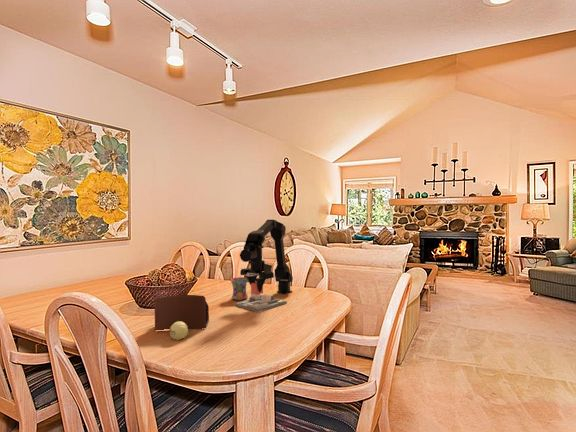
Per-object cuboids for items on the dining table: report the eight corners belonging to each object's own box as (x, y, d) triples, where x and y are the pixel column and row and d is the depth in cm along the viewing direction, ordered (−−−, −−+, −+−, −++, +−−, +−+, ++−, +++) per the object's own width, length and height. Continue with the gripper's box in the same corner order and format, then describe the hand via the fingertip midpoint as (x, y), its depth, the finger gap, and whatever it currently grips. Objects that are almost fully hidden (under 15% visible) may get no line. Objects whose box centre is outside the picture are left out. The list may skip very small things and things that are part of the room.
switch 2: (265, 301, 168) (265, 294, 168) (270, 302, 165) (270, 295, 165) (261, 302, 166) (261, 295, 166) (266, 303, 163) (265, 296, 163)
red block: (257, 291, 164) (257, 281, 164) (263, 293, 161) (262, 282, 161) (251, 293, 161) (250, 283, 161) (256, 294, 159) (256, 284, 159)
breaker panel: (264, 297, 180) (264, 292, 180) (286, 303, 168) (286, 297, 168) (235, 305, 166) (235, 299, 166) (257, 312, 155) (257, 306, 155)
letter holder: (206, 329, 134) (205, 294, 134) (154, 332, 132) (153, 296, 131) (209, 321, 144) (208, 288, 144) (161, 324, 142) (160, 291, 141)
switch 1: (255, 298, 173) (255, 291, 173) (260, 299, 171) (259, 292, 171) (251, 299, 171) (250, 292, 171) (255, 301, 169) (255, 293, 169)
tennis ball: (167, 320, 125) (175, 324, 120) (184, 318, 130) (192, 322, 125) (165, 338, 124) (173, 342, 120) (182, 335, 129) (190, 340, 124)
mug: (244, 301, 173) (243, 281, 173) (227, 300, 176) (227, 280, 176) (253, 295, 185) (252, 276, 185) (237, 295, 188) (237, 276, 187)
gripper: (281, 258, 160) (282, 290, 161) (256, 255, 173) (257, 285, 174) (264, 261, 152) (265, 295, 153) (239, 257, 166) (240, 289, 166)
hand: (257, 291), depth 161 cm, fingers closed on red block, 4 cm apart
